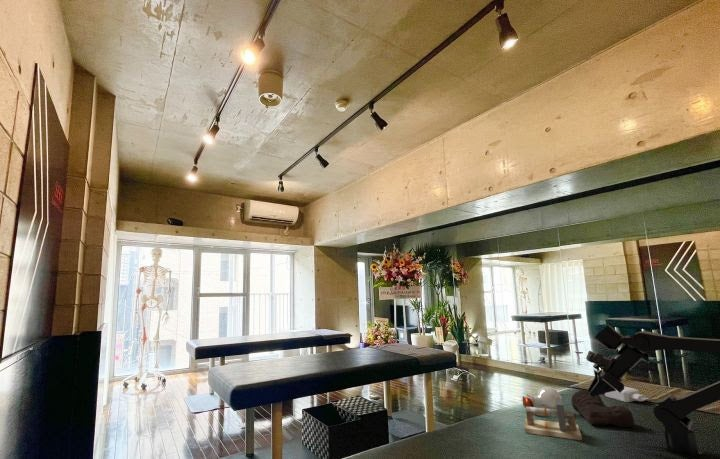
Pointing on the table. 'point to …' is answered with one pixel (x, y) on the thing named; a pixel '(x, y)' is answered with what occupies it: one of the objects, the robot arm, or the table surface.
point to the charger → (626, 395)
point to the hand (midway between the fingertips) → (589, 393)
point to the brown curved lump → (601, 410)
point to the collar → (561, 414)
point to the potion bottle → (542, 399)
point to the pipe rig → (551, 424)
